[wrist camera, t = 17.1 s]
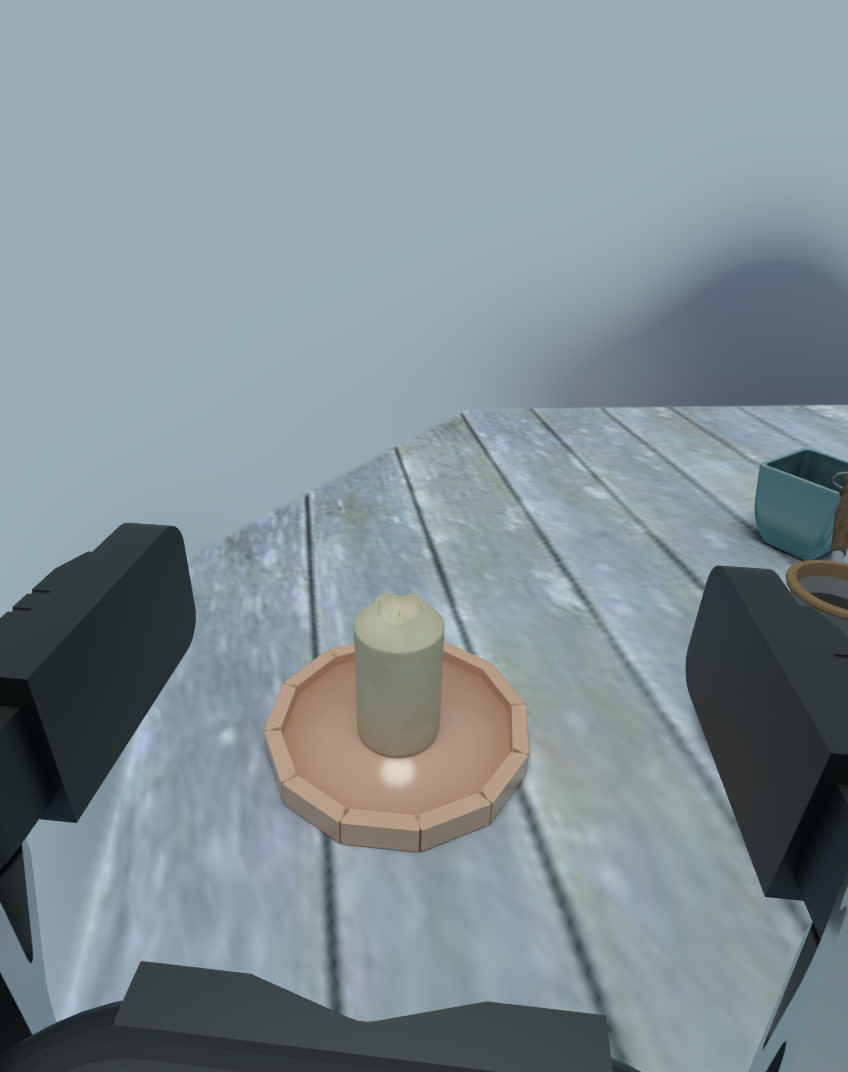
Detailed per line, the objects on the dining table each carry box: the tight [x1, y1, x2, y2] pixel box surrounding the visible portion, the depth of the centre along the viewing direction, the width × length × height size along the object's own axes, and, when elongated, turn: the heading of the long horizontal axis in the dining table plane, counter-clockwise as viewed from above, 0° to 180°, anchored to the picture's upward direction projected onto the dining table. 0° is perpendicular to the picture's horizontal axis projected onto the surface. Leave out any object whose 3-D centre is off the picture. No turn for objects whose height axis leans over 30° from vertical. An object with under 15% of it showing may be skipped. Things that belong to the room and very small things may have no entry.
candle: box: [354, 593, 444, 757], centre depth 42 cm, size 6×6×10 cm
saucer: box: [264, 642, 529, 852], centre depth 44 cm, size 17×17×2 cm
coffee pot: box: [786, 472, 848, 637], centre depth 45 cm, size 21×12×15 cm, turn 151°
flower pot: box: [755, 448, 848, 561], centre depth 67 cm, size 9×9×9 cm
